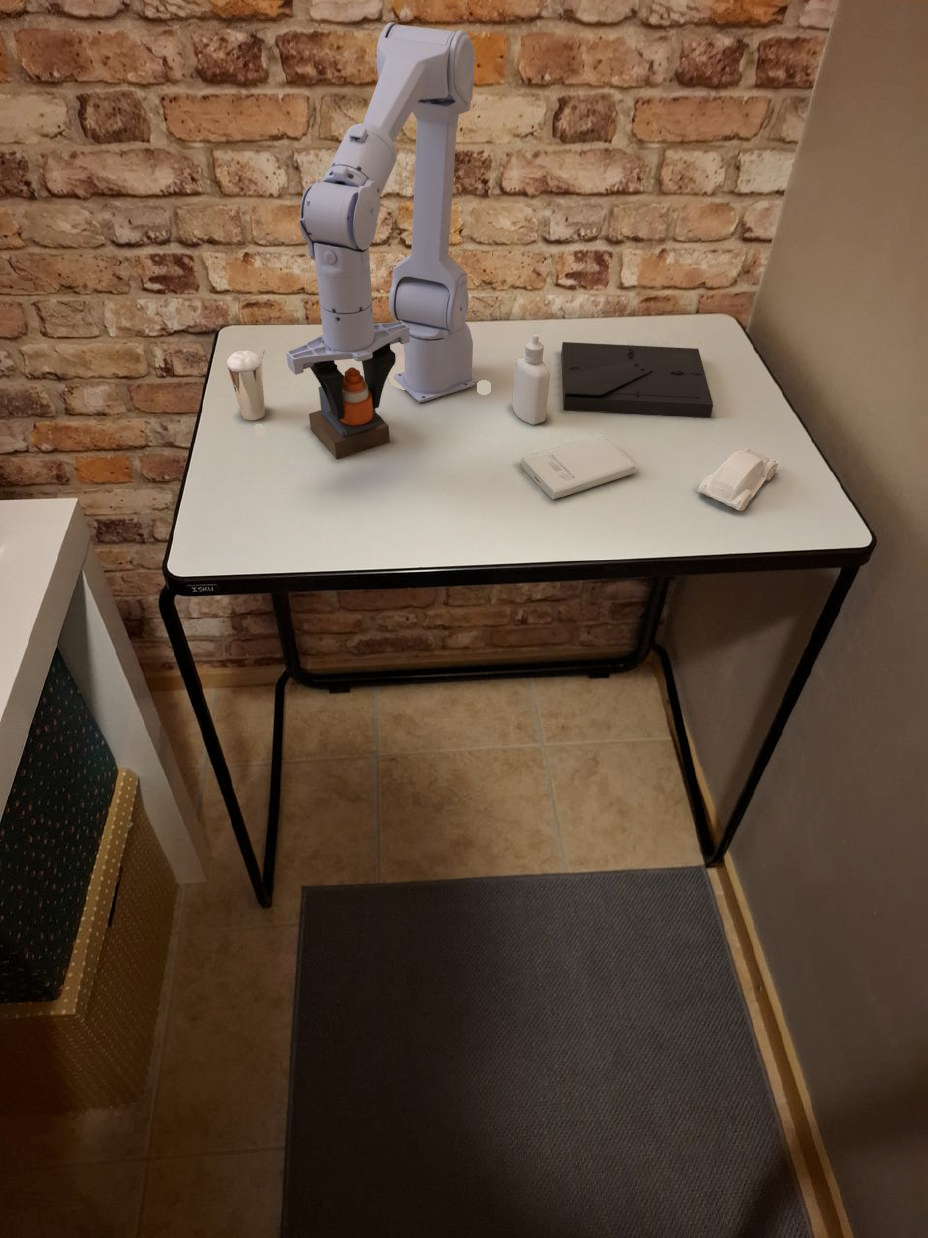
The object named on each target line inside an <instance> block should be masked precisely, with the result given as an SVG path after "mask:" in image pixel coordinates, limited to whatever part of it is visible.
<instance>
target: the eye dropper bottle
mask: <svg viewBox="0 0 928 1238" xmlns="http://www.w3.org/2000/svg"><path fill="white" fill-rule="evenodd" d="M539 338H540V337H539V335H538V334H536V333H535V334H532V337H531V340H530V341H528V342H526V343H525V347H524V355H523V356H521V357H519V358H518V359H516V361H515V365H514V377H513V388H512V389H513V391H512V404H511V406H512V411H513V412H514V414H515V415H516V417H518V418H519V419H520V420H521V421H523V422H525V423H527V424H529V425H538V424H540V423H544V422H545V421H546V418H547V417H546V416H547V410H548V400H549V392H550V391H549V390H550V381H551V380H550V378H551V374H550V370H549V368H548V366H547V364H546V362H544V359H543V358H544V351H545V350H544V348H545V346H544V344H543V343H542V342H541V341H540V340H539Z"/></svg>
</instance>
